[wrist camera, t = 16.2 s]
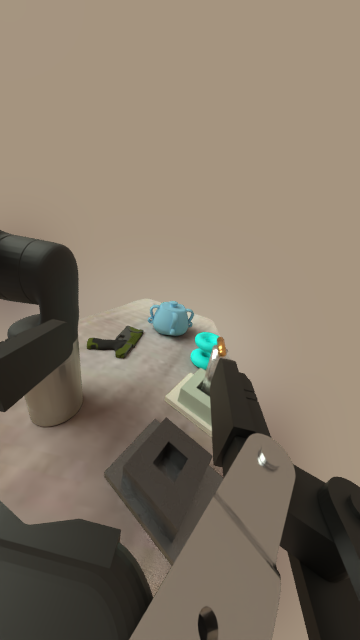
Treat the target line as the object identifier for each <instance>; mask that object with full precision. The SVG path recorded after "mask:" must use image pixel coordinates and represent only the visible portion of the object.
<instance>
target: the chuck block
mask: <svg viewBox="0 0 360 640" xmlns="http://www.w3.org/2000/svg"><path fill="white" fill-rule="evenodd" d="M211 458H212V455H211V454H210V453H208V452H207V451H206V450H205V449H204V448H202V447H201V446H200V445H199V444H198V443H196V442H195V441H194V440H193V439H191V438H190V437H189V436H188V435H187V434H185V433H184V432H183V431H182V430H181V429H179V428H178V427H177V426H176V425H175V424H173V423H172V422H171V421H170V420H169V419H167V418H165V419H164V420H163V421H162V423H159V422H158V421H157V420H156V419H154V420H153V422H152V423H151V424H150V425H149V426H148V427H147V428H146V429H145V430H144V431H143V432H142V433H141V434H140V435H139V436H138V437H137V438H136V439H135V441H134V442H133V443H132V444H131V445H130V446H129V447H128V448H127V449H126V450H125V451H124V452H123V453H122V454H121V455H120V456H119V457H118V458H117V460H116V461H115V462H114V463H113V464H112V465H111V466H110V467H109V468H108V469H107V470H106V471H105V472H104V477H105V478H106V480H107V481H108V482H109V484H110V485H111V486H112V488H113V489H114V490H115V491H116V493H117V494H118V495H119V497H120V498H121V499H122V501H123V502H124V503H125V505H126V506H127V507H128V509H129V510H130V511H131V513H132V514H133V515H134V517H135V518H136V519H137V521H138V522H139V523H140V524H141V526H142V527H143V528H144V530H145V531H146V532H147V534H148V535H149V536H150V538H151V539H152V540H153V542H154V543H155V544H156V546H157V547H158V548H159V550H160V551H161V552H162V554H163V555H164V556H165V557H166V559H167V560H168V561H169V563H170V564H171V565H173V564H174V562H175V560H176V559H177V557H178V555H179V553H180V552H181V550H182V548H183V547H184V545H185V543H186V542H187V540H188V538H189V537H190V535H191V533H192V531H193V530H194V528H195V526H196V525H197V523H198V521H199V520H200V518H201V516H202V515H203V513H204V511H205V509H206V508H207V506H208V504H209V503H210V501H211V499H212V498H213V496H214V494H215V492H216V491H217V489H218V487H219V486H220V484H221V482H222V481H223V477H222V476H220V475H219V474H218V473H217V472H216V471H215V470H214V469H212V468H211V467H210V466H209V463H210V460H211Z"/></svg>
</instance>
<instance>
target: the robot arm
mask: <svg viewBox="0 0 360 640" xmlns="http://www.w3.org/2000/svg"><path fill="white" fill-rule="evenodd" d="M0 299H3V300H8V301H14V302H22V303H29V304H37V305H39V307H40V314H37V315H32V316H29V317H26V318H23V319H21V320H19V321H17V322H15V323H14V324H12V325H11V326H10V328H9V329H8V339H6V340H5V341H2V342H0V411H2V412H6V411H7V410H8V409H9V408H10V407H11V406H13V405H14V404H15V403H16V402H17V401H19V400H20V399H21V398H22V397H23V396H25V400H26V404H27V408H28V411H29V415H30V418H31V420H32V422H33V423H35V424H36V425H39V426H44V427H47V426H54V425H58V424H60V423H63V422H65V421H67V420H68V419H70V418H71V417H72V416H74V415H75V414H76V413H77V412H78V410H79V409H80V407H81V405H82V402H83V396H82V381H81V368H80V354H79V342H78V320H79V306H78V268H77V263H76V260H75V258H74V255H73V253H72V252H71V251H70V250H69V248H67V247H66V246H64V245H61V244H57V243H54V242H49V241H44V240H39V239H33V238H28V237H22V236H17V235H12V234H9V233H6V232H4V231H1V230H0ZM210 406H211V424H212V443H213V462H214V465H215V466H219V467H223V477H224V479H223V481H222V482H221V484H220V486H219V487H218V489H217V491H216V492H215V494H214V496H213V498H212V499H211V501H210V503H209V504H208V506H207V508H206V509H205V511H204V513H203V515H202V516H201V518H200V520H199V521H198V523H197V525H196V526H195V528H194V530H193V531H192V533H191V535H190V537H189V538H188V540H187V542H186V543H185V545H184V547H183V548H182V550H181V552H180V553H179V555H178V557H177V559H176V560H175V562H174V564H173V565H172V567H171V569H170V570H169V572H168V574H167V575H166V577H165V579H164V581H163V582H162V584H161V586H160V587H159V589H158V591H157V592H156V594H155V596H154V598H153V596H152V593H151V590H150V587H149V584H148V582H147V580H146V577H145V575H144V573H143V571H142V569H141V567H140V566H139V564H138V562H137V561H136V559H135V558H134V557H133V555H132V554H131V553H130V552H129V551H128V549H127V548H125V547H124V546H123V545H122V544H121V543H120V533H121V530H120V529H116V528H112V527H109V526H105V525H101V524H97V523H93V522H90V521H86V520H82V519H74V520H66V521H58V522H50V523H42V524H34V525H28V524H25V523H23V522H22V521H21V520H20V519H19V518H18V517H17V516H16V515H15V514H14V513H13V512H12V511H10V510H9V509H8V508H7V507H6V506H5V505H4V504H3V503H2V502H1V501H0V640H272V636H273V631H274V626H275V620H276V615H277V610H278V605H279V599H280V590H281V578H280V574H279V572H278V570H277V568H276V559H277V553H278V549H279V546H281V547H282V548H283V549H285V550H286V551H287V552H288V556H289V560H290V564H291V568H292V572H293V576H294V580H295V585H296V589H297V593H298V597H299V601H300V605H301V609H302V613H303V617H304V621H305V625H306V629H307V634H308V638H309V640H360V487H358V486H357V485H356V484H354V483H352V482H351V481H349V480H347V479H344V478H342V477H333V478H331V479H330V480H329V481H328V482H327V483H325V482H323V481H321V480H319V479H318V478H316V477H314V476H312V475H311V474H309V473H307V472H305V471H304V470H302V469H300V468H299V467H297V466H295V465H294V464H293V463H292V461H291V459H290V457H289V456H288V454H287V453H286V451H285V450H284V449H283V448H282V447H281V445H280V444H278V443H277V442H276V441H275V440H273V439H272V438H271V436H270V433H269V430H268V428H267V425H266V422H265V419H264V417H263V414H262V411H261V408H260V405H259V402H257V397H256V394H255V393H254V389H253V386H252V383H251V381H250V380H249V379H248V378H247V376H246V375H245V374H243V373H240V372H239V371H238V368H237V364H236V362H235V361H232V360H228V359H224V358H220V359H219V361H218V363H217V366H216V369H215V372H214V375H213V377H212V380H211V385H210Z"/></svg>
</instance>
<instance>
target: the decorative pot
mask: <svg viewBox="0 0 360 640" xmlns="http://www.w3.org/2000/svg"><path fill="white" fill-rule="evenodd" d="M153 308H158V309H157V310H156V312H155V315H154V316H153V312H152V310H153ZM186 311H189V312H191V313H192V314H191V317H190V318H189V320H188V316H187V312H186ZM150 314H151V317H149V318H148V322H149V323H153V326H154V328H155V330H156V331H157V332H159V333H160V334H162V335H164V334H166V335H176V336H179V335H182V334H184V333H185V332H186V331H187V329H188V327H191V326H192V322H190V321H191V320H192V318H193V316H194V313H193V311H192V310H190V309H185V307H184V306H183V305H181V304H178V303H177V302H175V301H171V302H163V303H161V304H160V306H159V305H153V306H152V307H151V308H150ZM150 319H152V321H151V320H150ZM189 324H190V325H189Z"/></svg>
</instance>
